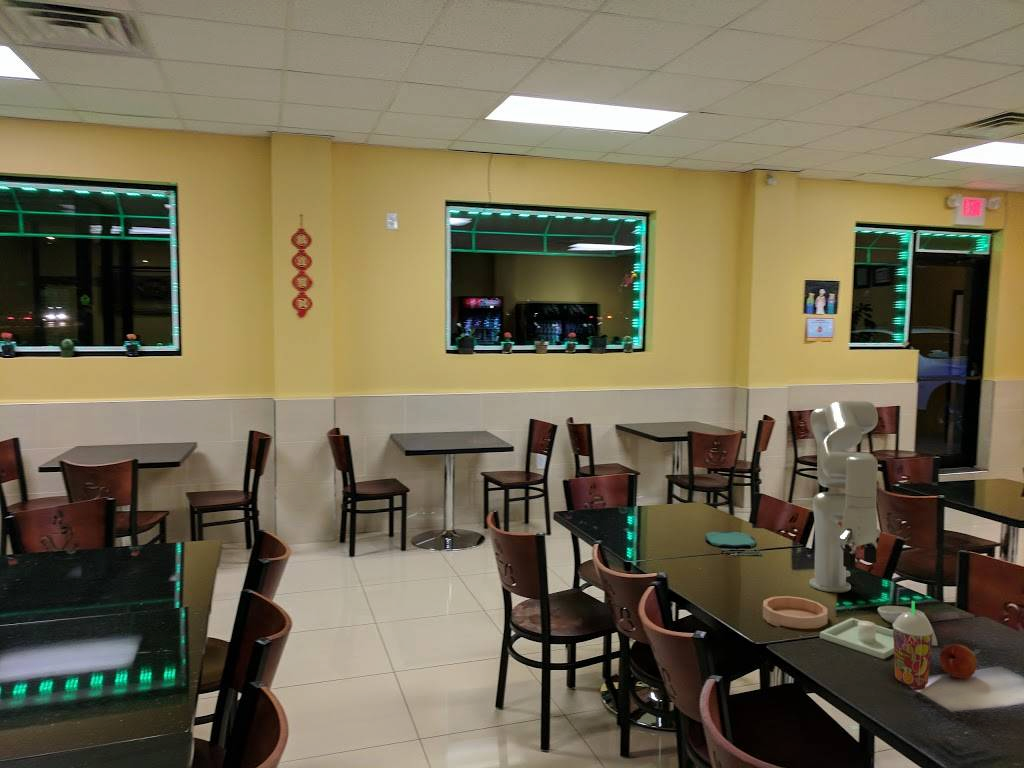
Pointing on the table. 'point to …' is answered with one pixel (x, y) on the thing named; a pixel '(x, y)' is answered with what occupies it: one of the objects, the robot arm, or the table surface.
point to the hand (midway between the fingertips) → (859, 564)
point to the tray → (848, 637)
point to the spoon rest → (894, 611)
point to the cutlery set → (732, 541)
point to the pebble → (866, 632)
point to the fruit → (958, 661)
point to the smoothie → (912, 648)
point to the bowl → (794, 612)
